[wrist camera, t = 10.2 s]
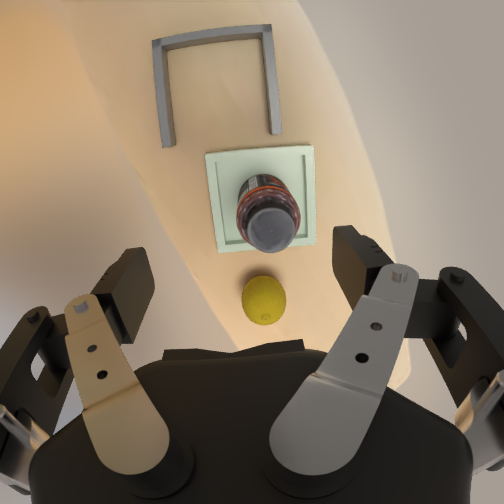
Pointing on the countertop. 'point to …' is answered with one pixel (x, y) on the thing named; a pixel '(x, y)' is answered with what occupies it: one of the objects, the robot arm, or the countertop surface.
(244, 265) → the countertop surface
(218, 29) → the holder
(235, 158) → the tray
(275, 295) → the lemon
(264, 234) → the supplement bottle
